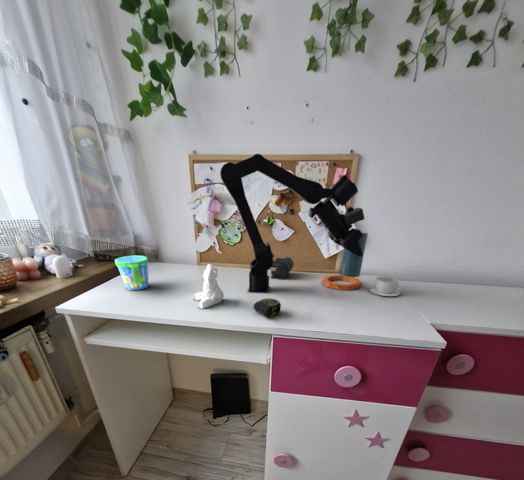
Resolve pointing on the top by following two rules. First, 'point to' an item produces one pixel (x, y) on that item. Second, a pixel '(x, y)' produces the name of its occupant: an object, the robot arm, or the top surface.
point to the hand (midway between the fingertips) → (357, 253)
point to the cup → (353, 260)
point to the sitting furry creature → (210, 289)
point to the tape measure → (268, 307)
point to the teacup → (386, 286)
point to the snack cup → (133, 271)
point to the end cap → (281, 267)
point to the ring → (341, 286)
